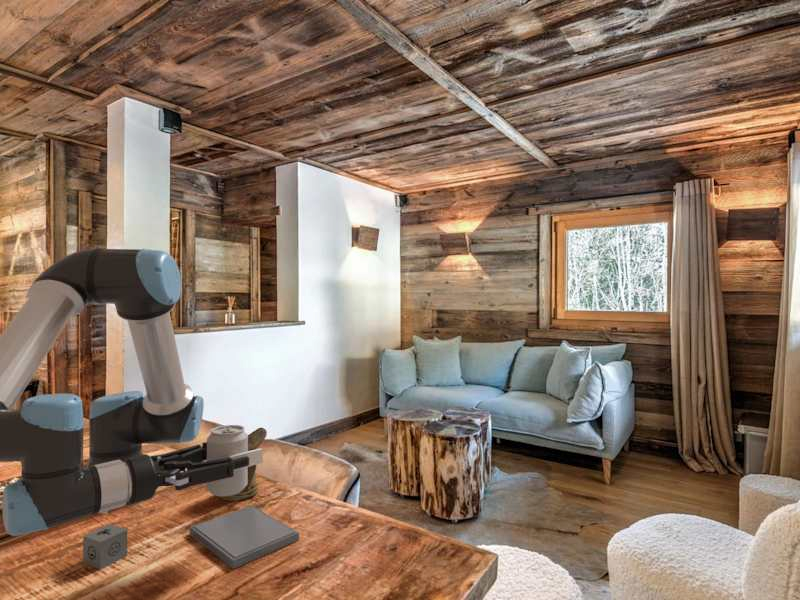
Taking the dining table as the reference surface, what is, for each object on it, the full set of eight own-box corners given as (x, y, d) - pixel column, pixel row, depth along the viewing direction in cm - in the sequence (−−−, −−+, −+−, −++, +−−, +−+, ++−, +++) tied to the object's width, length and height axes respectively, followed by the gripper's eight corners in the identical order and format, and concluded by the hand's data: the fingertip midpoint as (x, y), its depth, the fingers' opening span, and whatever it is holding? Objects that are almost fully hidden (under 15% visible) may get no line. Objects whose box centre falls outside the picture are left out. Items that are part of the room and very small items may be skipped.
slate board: (189, 534, 96) (189, 526, 96) (251, 511, 107) (251, 504, 107) (233, 569, 84) (233, 559, 84) (298, 540, 95) (299, 531, 95)
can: (208, 501, 86) (208, 435, 86) (205, 486, 93) (205, 425, 93) (250, 493, 90) (251, 430, 90) (244, 480, 97) (245, 421, 96)
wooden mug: (242, 510, 107) (243, 431, 107) (212, 494, 116) (212, 421, 116) (275, 498, 114) (276, 423, 114) (244, 483, 123) (245, 414, 123)
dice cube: (109, 550, 90) (109, 524, 90) (127, 556, 88) (127, 529, 88) (82, 563, 86) (83, 535, 86) (100, 570, 84) (100, 542, 84)
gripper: (106, 487, 86) (227, 456, 102) (146, 525, 71) (278, 483, 88) (106, 445, 85) (227, 422, 102) (146, 476, 71) (278, 443, 88)
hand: (250, 450), depth 95 cm, fingers closed on can, 7 cm apart
